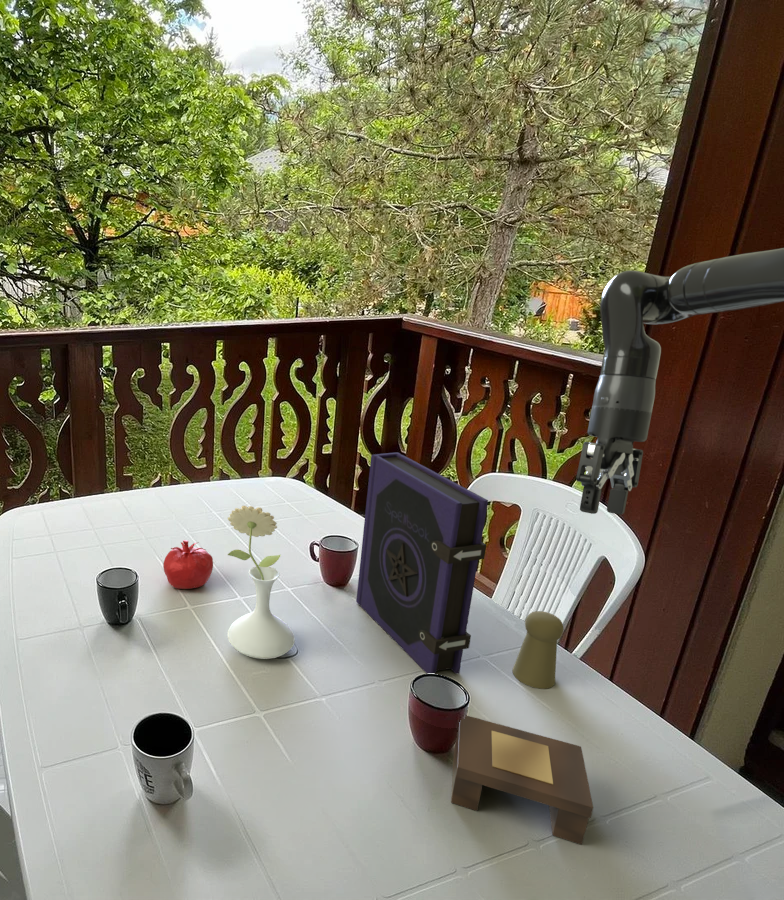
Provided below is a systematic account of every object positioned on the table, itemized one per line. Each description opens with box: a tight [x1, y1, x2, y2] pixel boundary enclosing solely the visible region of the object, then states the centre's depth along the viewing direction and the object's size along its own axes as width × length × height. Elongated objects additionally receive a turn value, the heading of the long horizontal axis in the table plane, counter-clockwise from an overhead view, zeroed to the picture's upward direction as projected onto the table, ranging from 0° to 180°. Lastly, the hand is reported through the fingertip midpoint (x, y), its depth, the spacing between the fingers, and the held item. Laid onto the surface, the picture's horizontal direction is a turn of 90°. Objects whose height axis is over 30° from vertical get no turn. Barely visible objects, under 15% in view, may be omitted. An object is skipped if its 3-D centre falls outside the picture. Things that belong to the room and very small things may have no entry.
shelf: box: [450, 714, 594, 846], centre depth 78 cm, size 14×10×6 cm
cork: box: [512, 610, 565, 690], centre depth 100 cm, size 6×6×11 cm
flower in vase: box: [226, 505, 296, 660], centre depth 105 cm, size 13×11×25 cm
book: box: [355, 452, 489, 675], centre depth 107 cm, size 24×6×30 cm, turn 15°
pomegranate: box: [162, 539, 214, 590], centre depth 127 cm, size 10×10×9 cm
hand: (601, 513), depth 97 cm, fingers open, 8 cm apart
